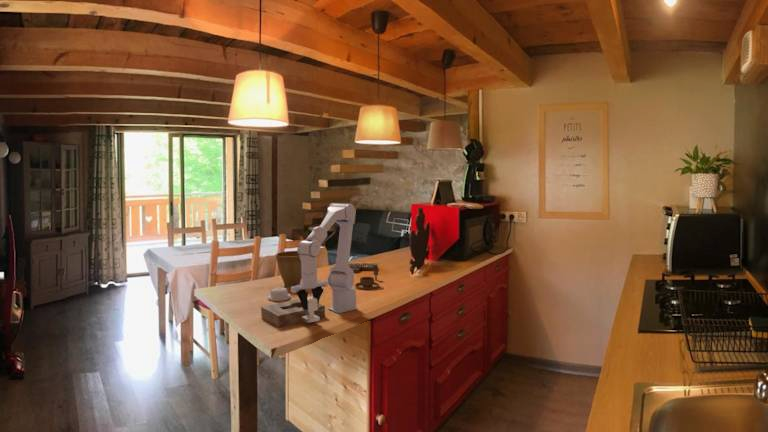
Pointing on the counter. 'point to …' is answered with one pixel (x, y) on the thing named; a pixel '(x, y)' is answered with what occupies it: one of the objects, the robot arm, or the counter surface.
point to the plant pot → (289, 267)
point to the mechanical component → (279, 294)
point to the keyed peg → (311, 310)
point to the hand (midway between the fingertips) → (310, 308)
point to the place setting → (368, 282)
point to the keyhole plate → (288, 313)
